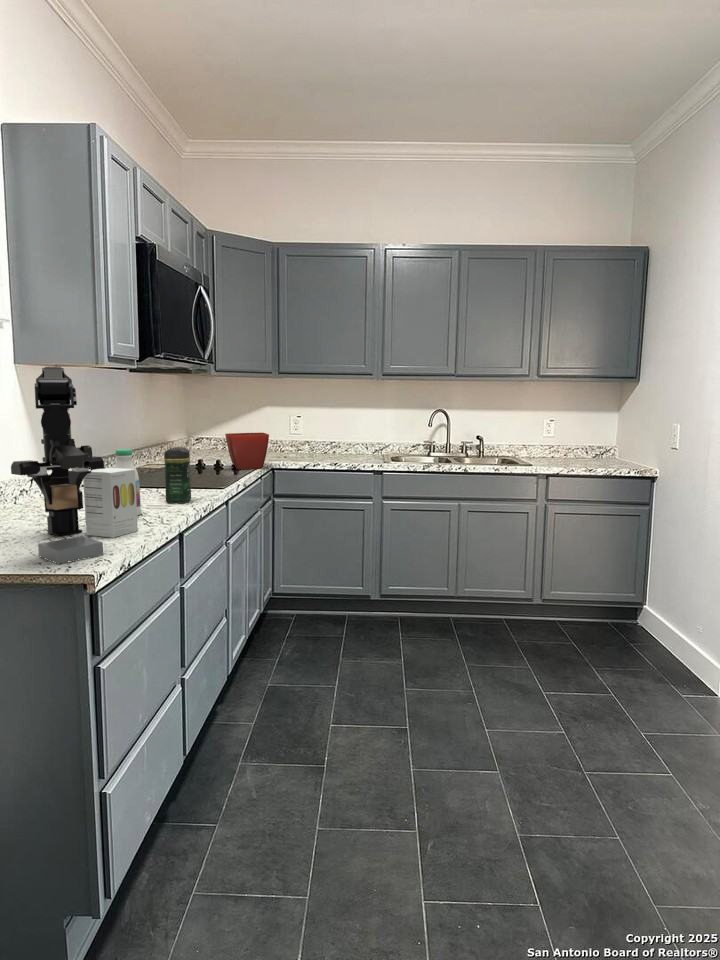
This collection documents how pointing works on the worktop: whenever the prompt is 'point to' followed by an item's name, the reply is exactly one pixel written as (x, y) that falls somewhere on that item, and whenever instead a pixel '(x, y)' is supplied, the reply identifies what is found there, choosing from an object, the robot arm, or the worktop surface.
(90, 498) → the supplement box
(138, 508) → the milk bottle
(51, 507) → the walnut cube
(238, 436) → the plant pot
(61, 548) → the slate slab
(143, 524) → the worktop surface
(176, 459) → the coffee jar
